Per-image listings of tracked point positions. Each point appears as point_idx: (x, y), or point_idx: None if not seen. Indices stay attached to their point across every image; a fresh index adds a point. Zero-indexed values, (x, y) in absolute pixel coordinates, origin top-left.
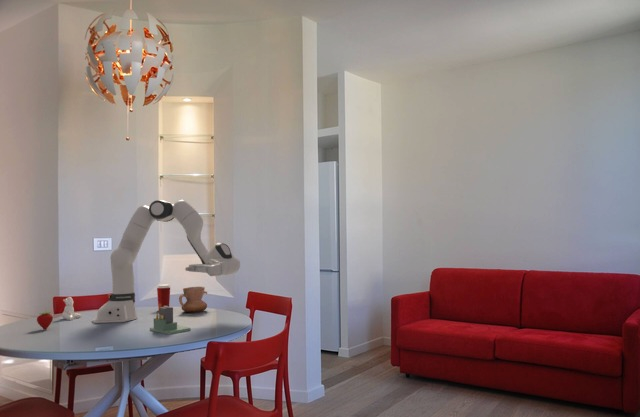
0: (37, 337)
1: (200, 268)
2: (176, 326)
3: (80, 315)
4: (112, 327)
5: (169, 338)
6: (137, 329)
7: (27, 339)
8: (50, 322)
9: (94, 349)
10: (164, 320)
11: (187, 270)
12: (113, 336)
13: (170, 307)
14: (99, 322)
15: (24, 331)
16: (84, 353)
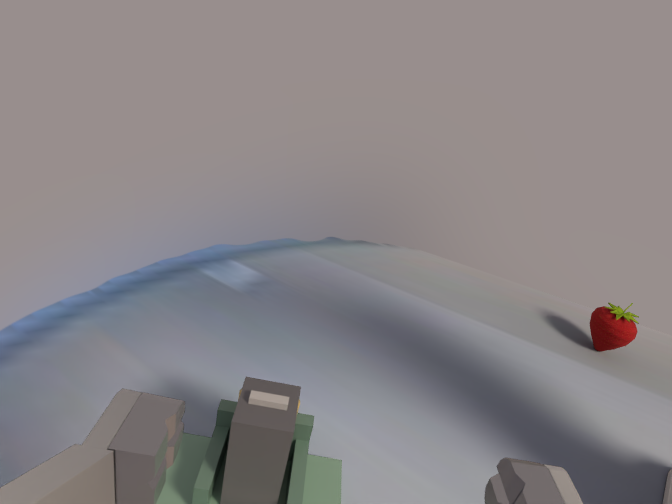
0: (486, 299)
1: (94, 434)
2: (193, 499)
3: None
4: (525, 444)
5: None
6: (406, 459)
7: (475, 286)
8: (602, 338)
9: (246, 264)
10: (220, 403)
11: (488, 497)
12: (349, 352)
13: (242, 411)
14: (668, 478)
15: None
16: (234, 246)
